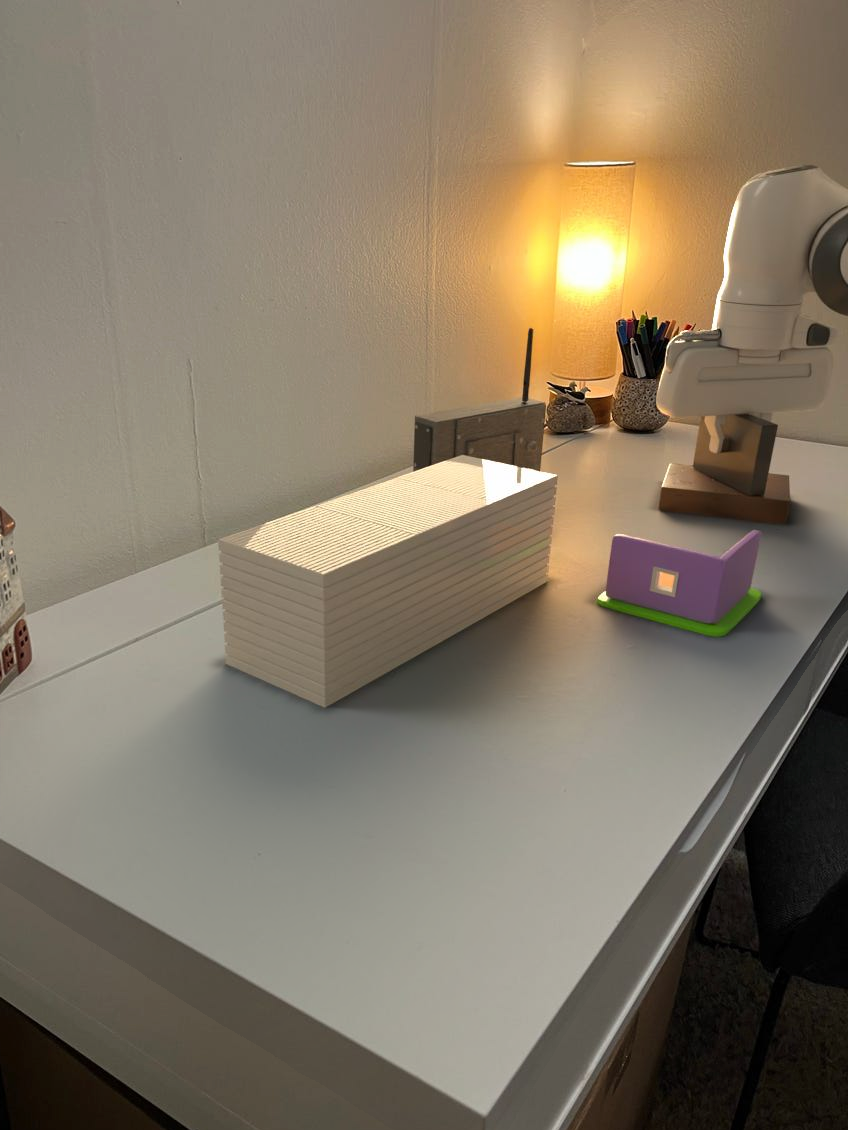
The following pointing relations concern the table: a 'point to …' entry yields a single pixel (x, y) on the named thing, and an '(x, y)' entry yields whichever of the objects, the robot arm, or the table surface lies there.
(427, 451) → the electronic device
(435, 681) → the table surface
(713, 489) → the stand
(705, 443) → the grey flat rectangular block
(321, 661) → the stack of papers
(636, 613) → the miniature room corner
